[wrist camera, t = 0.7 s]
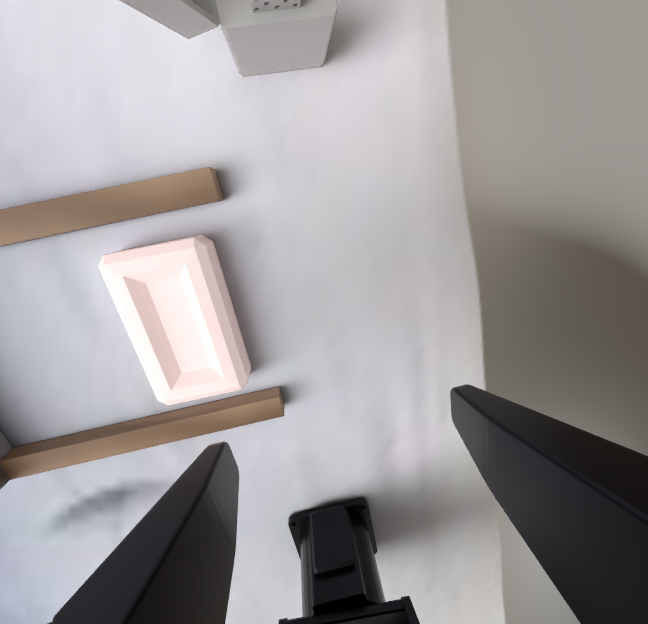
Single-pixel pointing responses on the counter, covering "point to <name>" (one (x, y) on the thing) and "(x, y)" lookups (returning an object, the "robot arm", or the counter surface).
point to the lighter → (254, 29)
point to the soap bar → (179, 317)
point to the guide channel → (153, 430)
